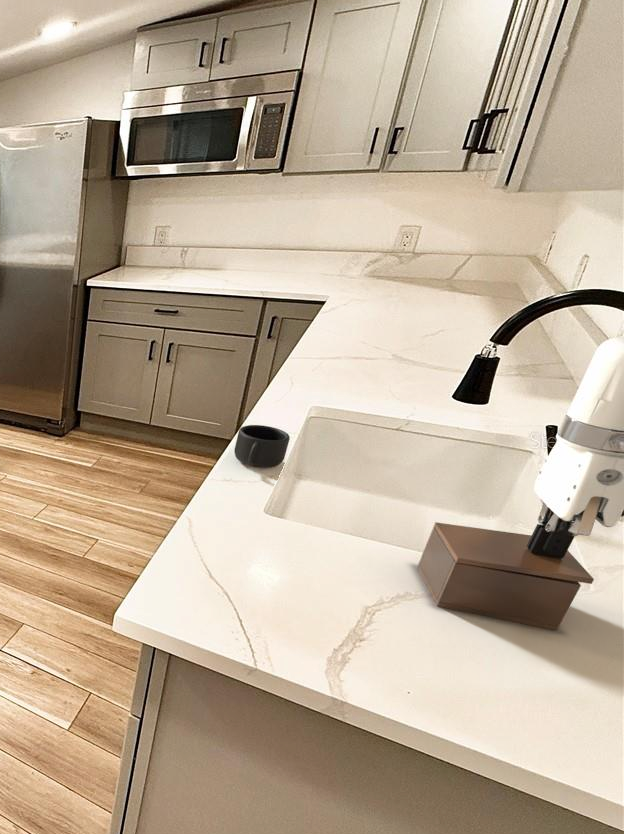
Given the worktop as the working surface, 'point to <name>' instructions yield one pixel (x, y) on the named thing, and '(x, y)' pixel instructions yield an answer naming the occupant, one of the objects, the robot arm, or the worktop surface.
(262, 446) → the mug
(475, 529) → the lid
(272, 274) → the worktop surface
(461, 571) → the box
